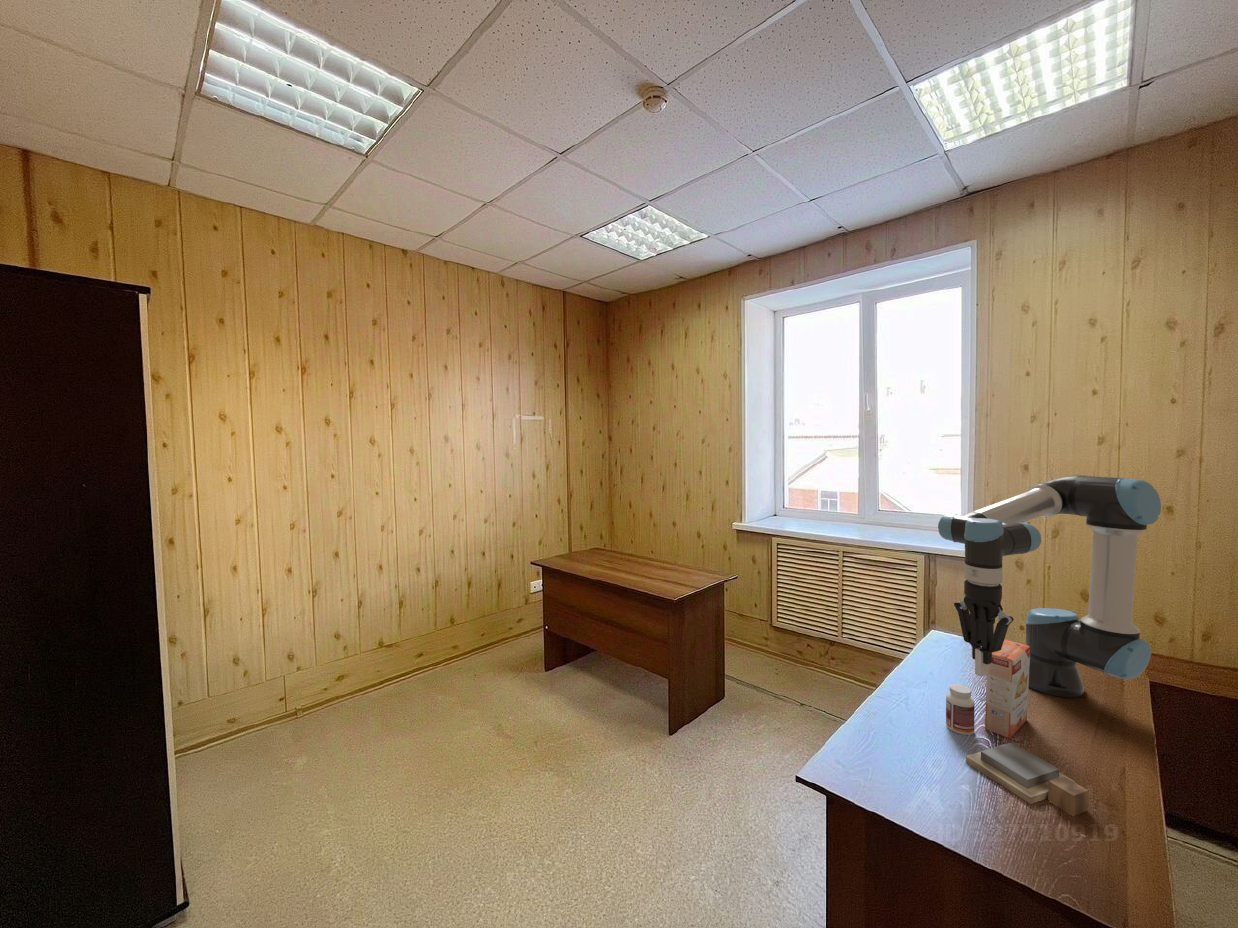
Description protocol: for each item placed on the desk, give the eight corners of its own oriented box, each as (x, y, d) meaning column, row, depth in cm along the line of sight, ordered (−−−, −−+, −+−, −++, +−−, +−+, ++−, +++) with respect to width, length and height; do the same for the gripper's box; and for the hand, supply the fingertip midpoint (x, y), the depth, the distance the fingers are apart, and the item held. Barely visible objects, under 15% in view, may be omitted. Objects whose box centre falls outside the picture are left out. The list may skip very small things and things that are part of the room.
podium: (1007, 749, 120) (1008, 735, 120) (1075, 788, 107) (1076, 772, 107) (965, 761, 116) (966, 747, 116) (1030, 804, 103) (1031, 788, 103)
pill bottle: (979, 731, 127) (980, 691, 127) (965, 738, 125) (966, 696, 124) (954, 719, 133) (955, 680, 132) (940, 725, 130) (941, 685, 130)
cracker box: (1012, 740, 123) (1014, 660, 122) (983, 729, 128) (985, 652, 127) (1029, 720, 132) (1031, 645, 130) (1002, 710, 136) (1004, 637, 135)
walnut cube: (1063, 775, 105) (1088, 790, 100) (1062, 795, 105) (1087, 810, 101) (1048, 780, 103) (1073, 795, 99) (1047, 800, 104) (1072, 816, 99)
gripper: (946, 576, 125) (945, 665, 127) (1000, 591, 113) (999, 689, 115) (966, 572, 128) (966, 660, 129) (1022, 587, 115) (1020, 683, 117)
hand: (981, 674), depth 122 cm, fingers closed
